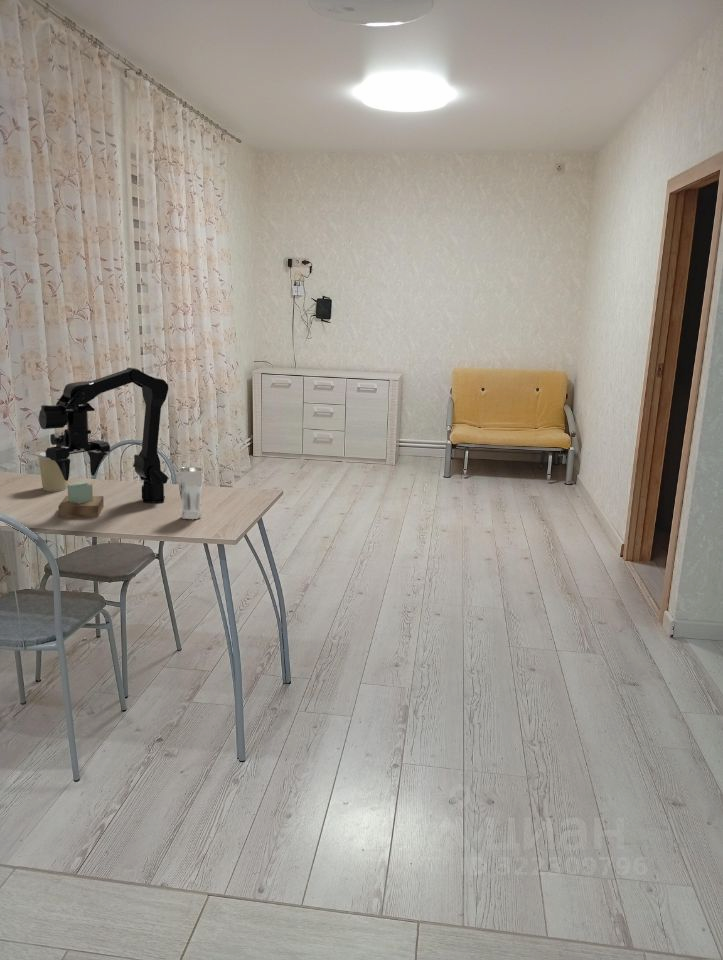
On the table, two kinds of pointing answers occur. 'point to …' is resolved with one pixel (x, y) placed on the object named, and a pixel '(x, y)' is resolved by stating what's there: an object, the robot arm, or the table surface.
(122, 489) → the table surface
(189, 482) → the beer glass
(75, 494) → the sage block
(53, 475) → the coffee cup
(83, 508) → the walnut block
